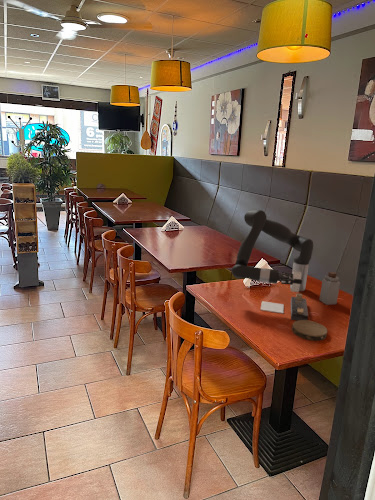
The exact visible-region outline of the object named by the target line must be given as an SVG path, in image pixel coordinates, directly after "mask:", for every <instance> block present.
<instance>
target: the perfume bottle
mask: <svg viewBox="0 0 375 500" xmlns="http://www.w3.org/2000/svg"><path fill="white" fill-rule="evenodd" d="M337 275H338V273H336V272H334V271H329V272H328V273H327V274H326V275H324V277H325V278H324V277H323V278H322V281H321V289H320V293H319V302H322V303H323V304H324V305H326V306H328V305H330V306H331V305H337V302H338V297H339V293H340V286H341V282H340V281H339V279H340V278H339V277H338V276H337Z"/></svg>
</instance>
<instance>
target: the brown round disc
mask: <svg viewBox="0 0 375 500" xmlns="http://www.w3.org/2000/svg"><path fill="white" fill-rule="evenodd" d="M291 332H292V333H293V334H294V335H295V336H297V337H298V338H301V339H303V340H307V341H314V342H316V341H319V342H320V341H323V340H325V339H326V338H327V336H328V335H327V334H328V328H327V327H325V326H324V325H323V324H321V323H320V322H319V323H318V322H316V321H312V320H298V321H297V320H294V321H293V322H292V327H291Z"/></svg>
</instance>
